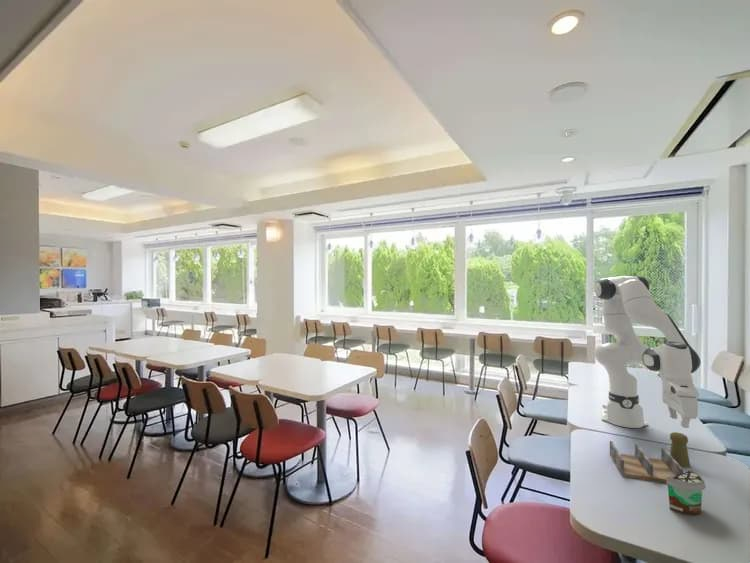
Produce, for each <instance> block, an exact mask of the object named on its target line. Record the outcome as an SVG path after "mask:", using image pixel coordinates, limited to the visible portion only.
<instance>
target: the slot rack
mask: <svg viewBox="0 0 750 563" xmlns="http://www.w3.org/2000/svg"><path fill="white" fill-rule="evenodd" d="M660 451H661V455H660V456H661V458H654V457H653V458H652V457H648V456H647V455H646V454H645V452H644V451H643V450H642V449H641V447H640V446H639V444H634V455H631V454H625V453H620V452H619V450H618V449H617V447H616V445H615V443H614V442H613V441H612V440H609V456H610V458H611V460H612V461H613V463H614V464H615V467H616V469H617V471H618V472H619V474H620V475H621V477H624V478H632V479H637V480H638V479H639V480H643V481H644V480H645V481H650V482H656V483H664V484H666V482H667V477H670V478H673V477H675V476H676V475H678V474H682V473H684V467H681V466H680V465H679V464H678V463H677V462H676V460H675V459H674V458H673V457H672V456H671V455H670V453H669V452H668V451H667V449H666V448H665V447H661V450H660Z"/></svg>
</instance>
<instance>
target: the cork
mask: <svg viewBox="0 0 750 563" xmlns="http://www.w3.org/2000/svg"><path fill="white" fill-rule="evenodd" d="M669 439H670V441H671V444H670V453H669V454H670V455H671V456H672V457H673V458H674V459H675V460H676V462H677V463H678V464H679V465H680V466H681V467H682V468H690V467H691V462H690V457H689V453H688V448H687V447H688V446H687V444H688V443H689V438H688V436H687V435H685V434H684V433H681V432H675V431H673V432H671V433H670V434H669Z"/></svg>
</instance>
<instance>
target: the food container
mask: <svg viewBox="0 0 750 563" xmlns="http://www.w3.org/2000/svg"><path fill="white" fill-rule="evenodd" d="M665 485H667V491H668V501H669V510H671V511H673V512H676V513H678V514H681V515H685V516H692V517H693V516H694V517H695V516H699V515H701V513H702V501H703V498H702V497H703V490H705V489H706V483H705V480H704V478H703V476H702V475H701V474H699V473H698V472H697V471H695V470H693V469H691V468H690V467H687V471H686V472H683V473H682V474H678V475H676V476H675V477H673V478H670V477H667V482H666V483H665Z"/></svg>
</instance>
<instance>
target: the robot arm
mask: <svg viewBox="0 0 750 563" xmlns="http://www.w3.org/2000/svg"><path fill="white" fill-rule="evenodd" d="M594 292H595V295H596V296H597V297H598V298H599V299H601V300H602V315H603V320H604V328H605V331H606V332H607V333H608V334H610V335H612V336H613V337H614V338H615V340H616V342H606V343H602V344H599V345H597V346H596V347H595V349H594V352H593V353H594V357H595V359H596V361H597V362H598V363H599V364H600V365H601V366H603V367H604V369H605V370H606V372H607V375H608V381H609V391H608V399H607V400H606V401H605V402H606V403H602V409H601V414H600V415H601V418H600V419H601V421H604V422H608V423H610V424H613V425H616V426H619V427H622V428H630V429H640V428H643V427H644V426H645V427H647V426H649V423H648V422H647V421H645V415H644V408H643V407H642V406H641V404H639V403H640V398H639V396H640V395H639V394H638V393H639V392H638V380H637V377H635V376H634V375H633V374H631V373H629V371H628V368H627V366H639V365H642V364H643V365H644V366H645V367H646V369H648V370H649V371H651V372H656V373H657V372H658V373H662V375H661V384H662V385H661V386H662V391H661V392H662V394H661V395H662V396H661V398H662V402H663V404H666V405H667V409H668V412H669V417H670V418H671V419H673V420H674V419H675V420H677V419H678V414H679V415H680V416H681V417H680V418H681V420H680V426H681V427H682V428H684V429H689V427H690V423H691V420H696V419H697V417H698V413H699V412H698V410H699V409H698V408H699V405H698V404H699V403H698V399H697V398H699V396H700V393H699V390H698V389H697V388H696V387H695V384H694V379H693V376H692V374H693V373H695V372H696V371H698V369H699V368H700V367H701V363H702V362H701V358H700V356H699V354H698V352H696V351H695V349H694V348H693V347H692V346H691V345H690V344H689V342H688V340H686V338H685V336H684V335H683V333H682V332H681V330H680V329H679V327H678V326H677V324H676V322H675V321H674V320H673V318H672V317H671V316H670V314H668V313H667V312H664V311H663V310H662V309H661V308H660V307H659V306H658V305H657V304H656V302H655V300H654V298H653V296H652V295H651V293H650V283H649V281H648V280H647V278H646V277H645V276H640V275H634V276H631V275H621V276H614V277H603V278H600V279H597V281H596V282H595V283H594ZM633 321H634V322H636V323H639V324H642V325H647V326H650V327H651V328H652V327H653V328H655V329H657V330H658V331H660V332H661V333H662V334H663V335H664V337H665V339H666V341H664V342H662V343H661V345H658V346H655V347H649V346H648V345H646V344H645V343H643V342H642V341H641V340H640V338H639V337H638V336H637V334H636V333H635V331H634V328H633V324H632V323H633Z"/></svg>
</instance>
